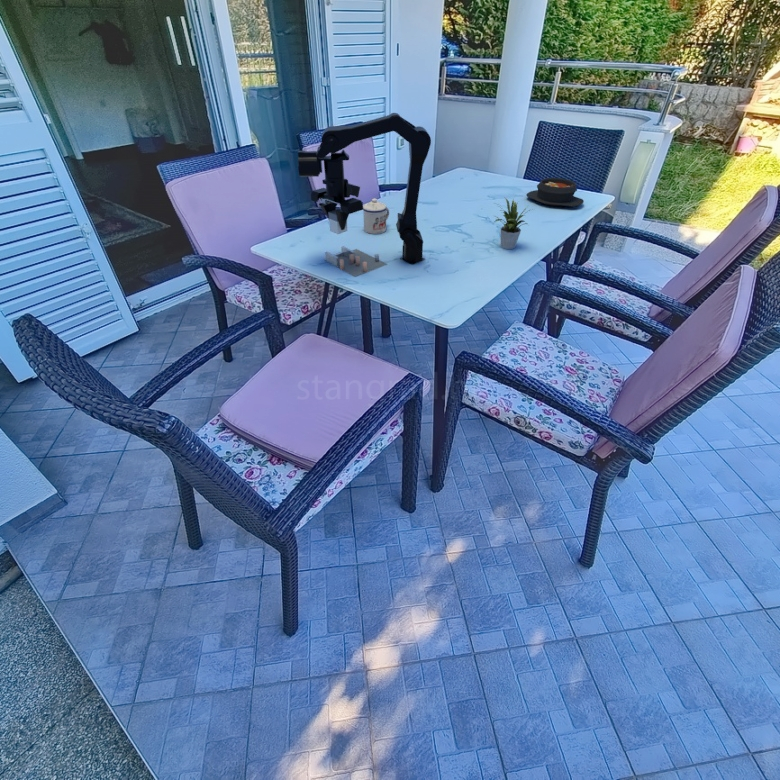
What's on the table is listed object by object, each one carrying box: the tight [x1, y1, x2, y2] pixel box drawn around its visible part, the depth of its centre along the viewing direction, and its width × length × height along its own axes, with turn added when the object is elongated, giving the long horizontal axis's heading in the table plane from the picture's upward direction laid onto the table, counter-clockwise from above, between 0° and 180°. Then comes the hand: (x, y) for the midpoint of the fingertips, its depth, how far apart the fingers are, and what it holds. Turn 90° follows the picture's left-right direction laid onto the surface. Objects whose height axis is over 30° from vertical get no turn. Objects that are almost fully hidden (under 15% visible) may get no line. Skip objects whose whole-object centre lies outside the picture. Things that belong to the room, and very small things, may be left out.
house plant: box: [493, 197, 534, 250], centre depth 157 cm, size 14×14×16 cm
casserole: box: [526, 177, 584, 207], centre depth 196 cm, size 25×19×8 cm
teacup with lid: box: [362, 198, 390, 235], centre depth 171 cm, size 12×9×12 cm
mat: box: [324, 248, 388, 278], centre depth 150 cm, size 17×14×1 cm
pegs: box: [339, 254, 380, 273], centre depth 147 cm, size 9×14×3 cm, turn 132°
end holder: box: [324, 245, 355, 268], centre depth 150 cm, size 7×8×3 cm
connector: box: [328, 210, 348, 235], centre depth 142 cm, size 4×4×6 cm
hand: (338, 228), depth 143 cm, fingers closed on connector, 4 cm apart
